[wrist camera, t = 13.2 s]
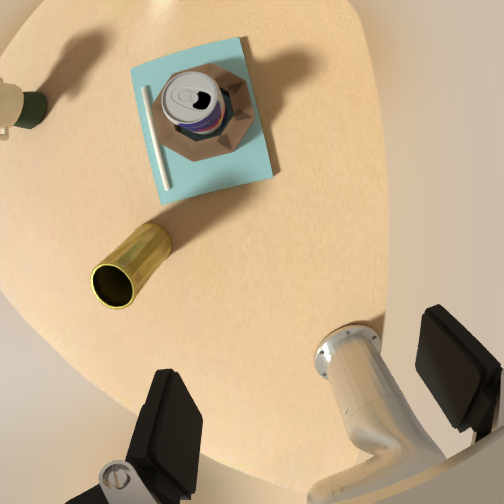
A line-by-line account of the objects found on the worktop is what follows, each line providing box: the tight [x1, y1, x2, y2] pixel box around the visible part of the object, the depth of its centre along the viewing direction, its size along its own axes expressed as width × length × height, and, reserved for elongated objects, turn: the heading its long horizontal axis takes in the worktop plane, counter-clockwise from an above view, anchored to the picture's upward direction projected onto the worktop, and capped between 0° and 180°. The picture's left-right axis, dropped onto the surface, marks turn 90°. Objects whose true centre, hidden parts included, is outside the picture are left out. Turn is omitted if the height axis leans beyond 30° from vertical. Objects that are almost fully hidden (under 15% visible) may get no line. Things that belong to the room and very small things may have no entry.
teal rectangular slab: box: [130, 37, 273, 205], centre depth 33 cm, size 20×15×2 cm
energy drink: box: [162, 71, 227, 135], centre depth 27 cm, size 5×5×12 cm
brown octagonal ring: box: [151, 63, 255, 162], centre depth 31 cm, size 11×11×4 cm
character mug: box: [0, 77, 47, 141], centre depth 25 cm, size 11×7×13 cm, turn 16°
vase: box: [90, 223, 172, 309], centre depth 32 cm, size 6×6×14 cm
